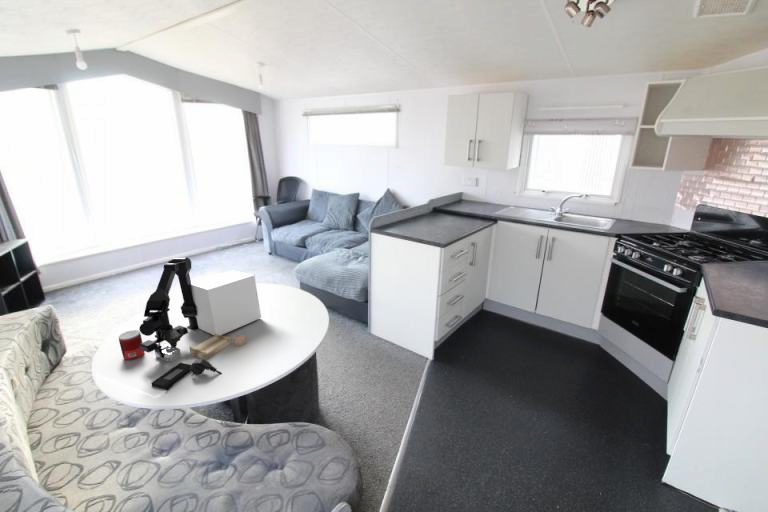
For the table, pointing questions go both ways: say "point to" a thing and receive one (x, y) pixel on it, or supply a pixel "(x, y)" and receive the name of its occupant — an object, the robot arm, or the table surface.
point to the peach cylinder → (239, 340)
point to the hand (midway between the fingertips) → (168, 354)
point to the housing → (169, 353)
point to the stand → (210, 346)
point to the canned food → (131, 345)
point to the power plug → (201, 367)
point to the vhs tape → (172, 376)
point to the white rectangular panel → (225, 301)
